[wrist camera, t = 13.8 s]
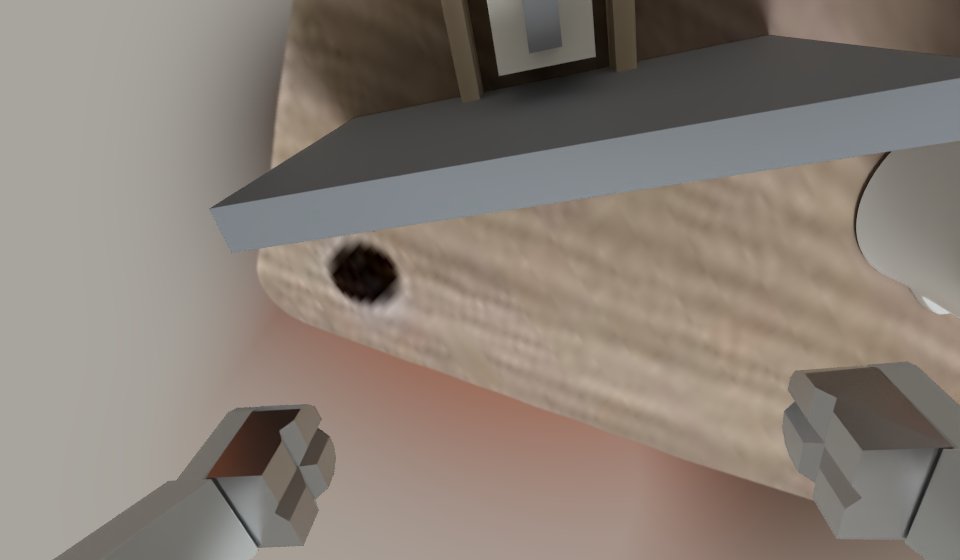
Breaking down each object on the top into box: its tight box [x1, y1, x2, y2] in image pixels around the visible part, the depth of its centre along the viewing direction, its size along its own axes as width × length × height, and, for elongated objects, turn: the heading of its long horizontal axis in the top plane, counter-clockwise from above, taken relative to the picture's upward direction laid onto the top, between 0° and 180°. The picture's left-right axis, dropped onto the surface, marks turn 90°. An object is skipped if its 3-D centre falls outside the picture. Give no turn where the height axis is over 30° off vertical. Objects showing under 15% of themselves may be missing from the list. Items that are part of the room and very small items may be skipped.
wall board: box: [210, 35, 960, 253], centre depth 25 cm, size 28×2×18 cm, turn 101°
